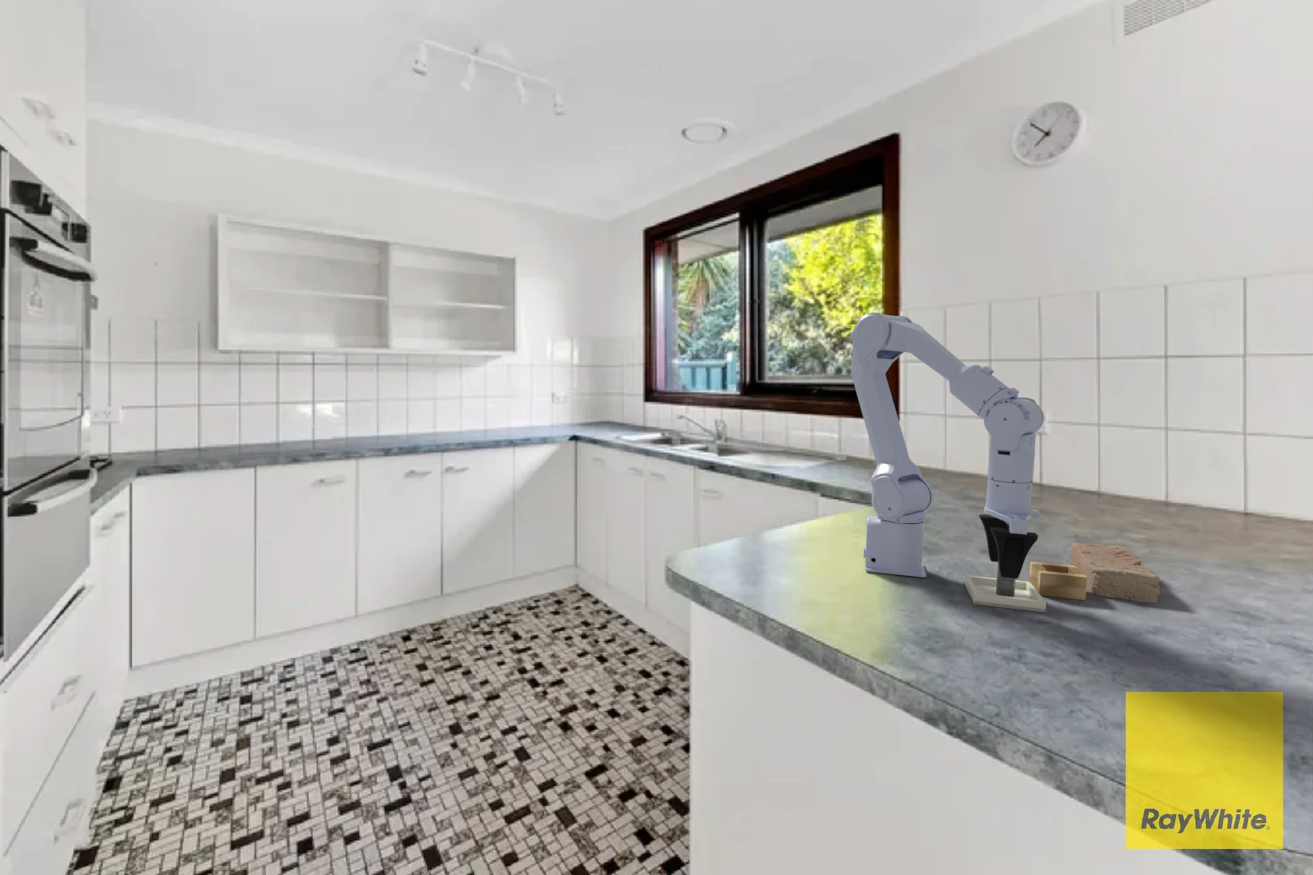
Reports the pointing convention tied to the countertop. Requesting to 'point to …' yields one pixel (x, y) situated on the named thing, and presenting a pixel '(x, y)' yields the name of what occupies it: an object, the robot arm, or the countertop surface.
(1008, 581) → the cylinder
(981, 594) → the tray
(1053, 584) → the wooden square frame
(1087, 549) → the brick
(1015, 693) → the countertop surface
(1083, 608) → the countertop surface
